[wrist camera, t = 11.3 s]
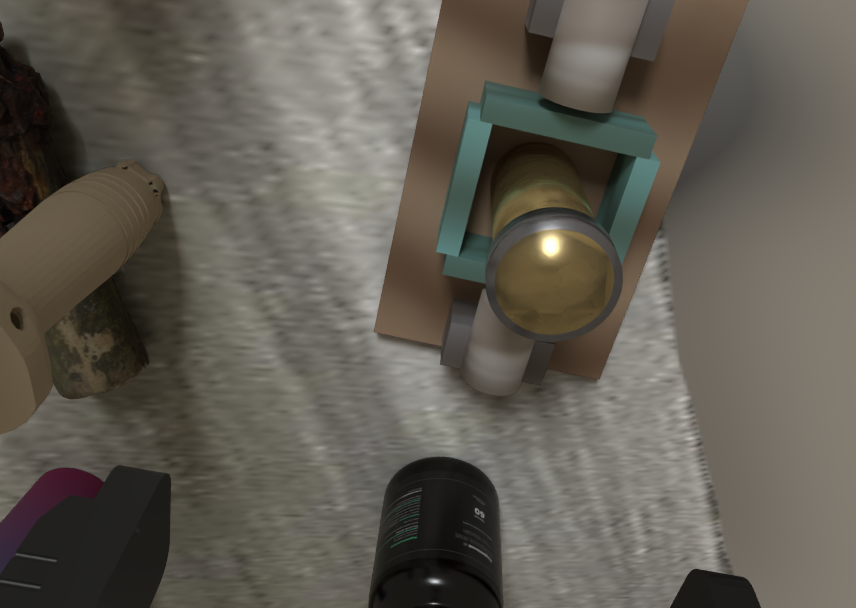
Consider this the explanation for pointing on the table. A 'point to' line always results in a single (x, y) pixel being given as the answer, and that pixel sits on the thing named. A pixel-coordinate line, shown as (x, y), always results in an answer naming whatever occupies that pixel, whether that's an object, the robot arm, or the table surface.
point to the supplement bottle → (438, 539)
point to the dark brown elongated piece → (14, 199)
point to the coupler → (547, 248)
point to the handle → (64, 270)
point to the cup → (42, 505)
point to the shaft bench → (554, 124)
